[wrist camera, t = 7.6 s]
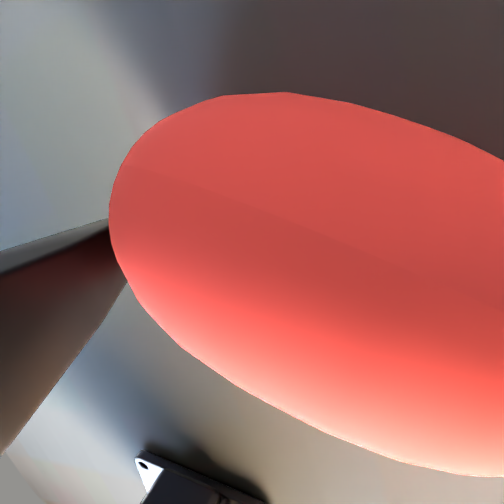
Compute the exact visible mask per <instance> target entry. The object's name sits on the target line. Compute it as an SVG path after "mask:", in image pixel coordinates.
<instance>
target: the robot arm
mask: <svg viewBox="0 0 504 504" xmlns="http://www.w3.org/2000/svg"><path fill="white" fill-rule="evenodd" d="M126 283H127V279H126V277H125V275H124V273H123V271H122V269H121V267H120V265H119V263H118V262H117V259H116V256H115V253H114V250H113V247H112V244H111V238H110V231H109V218H106V219H103V220H99V221H96V222H93V223H90V224H86V225H83V226H80V227H77V228H73V229H70V230H67V231H64V232H61V233H57V234H54V235H51V236H48V237H44V238H41V239H38V240H35V241H31V242H28V243H25V244H22V245H19V246H15V247H12V248H9V249H6V250H2V251H0V458H1V456H2V455H3V454H4V452H5V451H6V450H7V448H8V447H9V446H10V444H11V443H12V442H13V440H14V439H15V438H16V436H17V435H18V434H19V432H20V431H21V430H22V428H23V427H24V426H25V424H26V423H27V422H28V420H29V419H30V418H31V417H32V415H33V414H34V413H35V411H36V410H37V409H38V407H39V406H40V405H41V403H42V402H43V401H44V399H45V398H46V397H47V395H48V394H49V393H50V391H51V390H52V389H53V387H54V386H55V385H56V383H57V382H58V381H59V379H60V378H61V377H62V375H63V374H64V373H65V371H66V370H67V369H68V367H69V366H70V365H71V363H72V362H73V361H74V360H75V358H76V357H77V356H78V354H79V353H80V352H81V350H82V349H83V348H84V346H85V345H86V344H87V342H88V341H89V340H90V338H91V337H92V336H93V334H94V333H95V332H96V330H97V329H98V327H99V326H100V325H101V323H102V322H103V320H104V319H105V317H106V316H107V314H108V312H109V311H110V309H111V308H112V306H113V304H114V303H115V301H116V299H117V298H118V296H119V294H120V293H121V291H122V290H123V288H124V286H125V285H126ZM134 461H135V464H136V466H137V469H138V471H139V473H140V476H141V478H142V481H143V483H144V485H145V488H146V490H147V494H146V495H145V497H144V498H143V500H142V501H141V503H140V504H265V503H263V502H262V501H260V500H258V499H256V498H254V497H252V496H249V495H247V494H245V493H242V492H240V491H238V490H235V489H233V488H231V487H228V486H226V485H224V484H222V483H219V482H217V481H215V480H212V479H210V478H208V477H205V476H203V475H201V474H198V473H196V472H194V471H191V470H189V469H187V468H184V467H182V466H180V465H177V464H175V463H173V462H170V461H168V460H166V459H163V458H161V457H159V456H157V455H154V454H152V453H150V452H147V451H144V450H140V452H139V453H138V454H137V456H136V457H135V459H134Z"/></svg>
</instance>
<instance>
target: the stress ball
mask: <svg viewBox="0 0 504 504" xmlns="http://www.w3.org/2000/svg"><path fill="white" fill-rule="evenodd" d="M109 231H110V238H111V244H112V247H113V250H114V253H115V256H116V259H117V262H118V263H119V265H120V267H121V269H122V271H123V273H124V275H125V277H126V279H127V281H128V282H129V284H130V286H131V288H132V290H133V292H134V294H135V296H136V298H137V300H138V302H139V303H140V304H141V305H142V306H143V307H144V309H145V310H146V311H147V312H148V313H149V315H150V316H151V317H152V318H153V319H154V320H155V321H156V322H157V323H158V324H159V325H160V326H161V327H162V328H163V329H164V330H165V331H166V332H167V333H168V334H169V335H170V336H171V337H172V338H173V339H174V340H175V341H176V342H177V343H178V345H179V346H181V347H182V348H183V349H185V350H186V351H188V352H189V353H190V354H192V355H193V356H195V357H196V358H198V359H199V360H200V361H202V362H203V363H205V364H206V365H208V366H209V367H210V368H212V369H213V370H215V371H216V372H218V373H219V374H221V375H222V376H223V377H225V378H226V379H228V380H229V381H231V382H232V383H234V384H235V385H237V386H238V387H240V388H242V389H244V390H245V391H247V392H249V393H251V394H252V395H254V396H256V397H258V398H260V399H262V400H263V401H265V402H267V403H269V404H271V405H273V406H274V407H276V408H278V409H280V410H282V411H284V412H286V413H288V414H290V415H292V416H294V417H295V418H297V419H299V420H301V421H303V422H305V423H307V424H309V425H311V426H313V427H315V428H317V429H319V430H322V431H324V432H326V433H328V434H330V435H333V436H335V437H338V438H340V439H343V440H345V441H348V442H351V443H353V444H356V445H358V446H361V447H363V448H366V449H368V450H371V451H373V452H376V453H379V454H381V455H384V456H386V457H389V458H392V459H395V460H398V461H401V462H404V463H409V464H414V465H418V466H423V467H428V468H432V469H437V470H442V471H446V472H451V473H456V474H460V475H469V476H481V477H498V476H504V161H503V160H501V159H499V158H497V157H495V156H493V155H491V154H489V153H487V152H485V151H483V150H481V149H479V148H477V147H475V146H473V145H471V144H469V143H467V142H465V141H463V140H461V139H459V138H456V137H453V136H451V135H448V134H446V133H443V132H440V131H438V130H435V129H432V128H429V127H427V126H424V125H421V124H418V123H415V122H412V121H409V120H406V119H403V118H400V117H397V116H394V115H391V114H387V113H384V112H381V111H377V110H374V109H371V108H367V107H363V106H360V105H356V104H352V103H348V102H342V101H336V100H331V99H325V98H319V97H313V96H307V95H301V94H296V93H290V92H275V93H258V94H241V95H224V96H219V97H216V98H212V99H209V100H206V101H203V102H200V103H198V104H195V105H193V106H191V107H188V108H186V109H183V110H181V111H179V112H176V113H174V114H172V115H170V116H168V117H166V118H164V119H162V120H160V121H159V122H158V123H156V124H155V125H154V126H153V127H151V128H150V129H149V130H147V131H146V132H145V133H144V134H143V135H142V136H141V137H140V139H139V140H138V141H137V142H136V143H135V144H134V145H133V146H132V148H131V149H130V151H129V153H128V154H127V156H126V157H125V159H124V161H123V162H122V164H121V166H120V169H119V171H118V174H117V176H116V179H115V181H114V184H113V188H112V193H111V198H110V203H109Z"/></svg>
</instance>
